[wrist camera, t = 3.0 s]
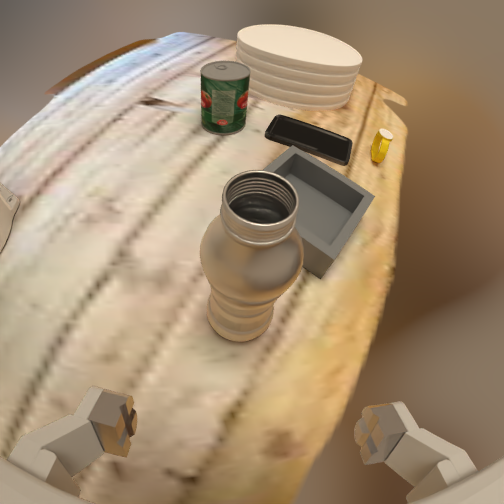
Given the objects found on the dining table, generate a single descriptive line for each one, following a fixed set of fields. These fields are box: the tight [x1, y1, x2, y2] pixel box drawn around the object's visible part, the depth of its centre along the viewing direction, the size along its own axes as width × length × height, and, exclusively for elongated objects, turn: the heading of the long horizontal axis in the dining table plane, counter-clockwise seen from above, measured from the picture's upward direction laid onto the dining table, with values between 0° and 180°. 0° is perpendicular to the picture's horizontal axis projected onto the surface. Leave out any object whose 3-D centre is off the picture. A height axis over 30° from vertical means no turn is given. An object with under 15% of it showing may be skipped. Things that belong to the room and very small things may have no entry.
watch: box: [371, 129, 393, 163], centre depth 45 cm, size 6×3×6 cm, turn 166°
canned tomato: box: [200, 61, 251, 135], centre depth 43 cm, size 8×8×11 cm
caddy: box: [263, 145, 375, 279], centre depth 36 cm, size 13×12×5 cm
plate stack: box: [235, 25, 362, 111], centre depth 54 cm, size 28×28×12 cm
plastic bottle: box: [200, 170, 304, 342], centre depth 22 cm, size 6×7×20 cm
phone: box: [265, 115, 352, 166], centre depth 47 cm, size 8×1×15 cm
